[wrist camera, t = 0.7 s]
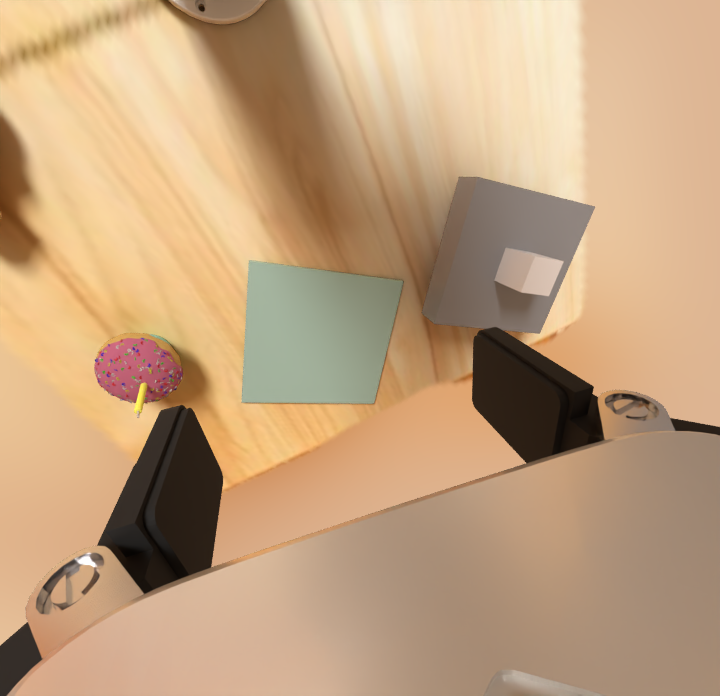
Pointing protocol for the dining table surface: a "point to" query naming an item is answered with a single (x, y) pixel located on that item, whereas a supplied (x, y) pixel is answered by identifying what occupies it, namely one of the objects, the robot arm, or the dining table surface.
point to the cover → (503, 256)
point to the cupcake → (138, 368)
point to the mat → (315, 334)
